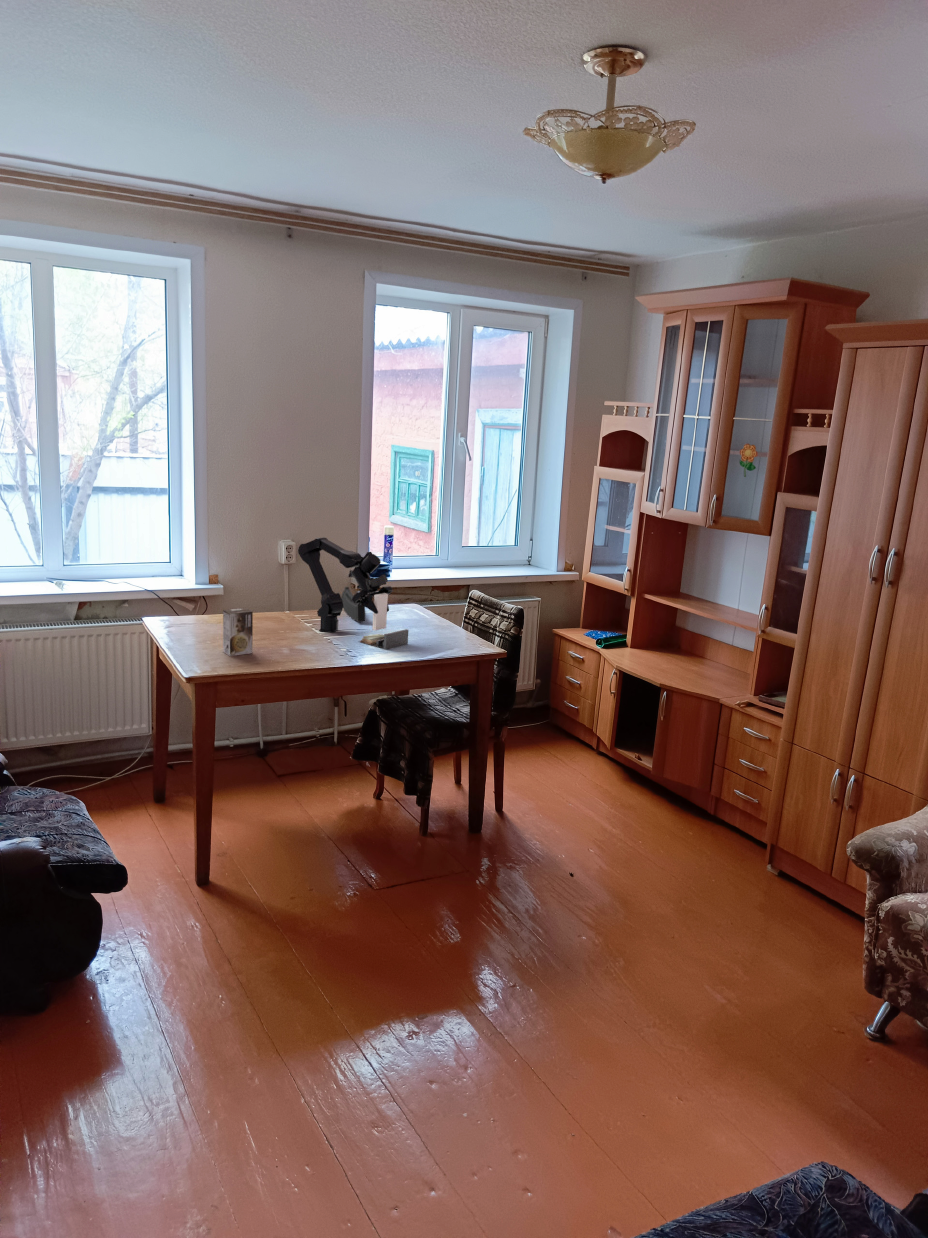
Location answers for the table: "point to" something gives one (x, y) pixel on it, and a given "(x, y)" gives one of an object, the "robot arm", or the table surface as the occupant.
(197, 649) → the table surface
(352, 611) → the magazine
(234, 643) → the coffee box
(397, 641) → the rack
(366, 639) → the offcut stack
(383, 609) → the tall sheet
